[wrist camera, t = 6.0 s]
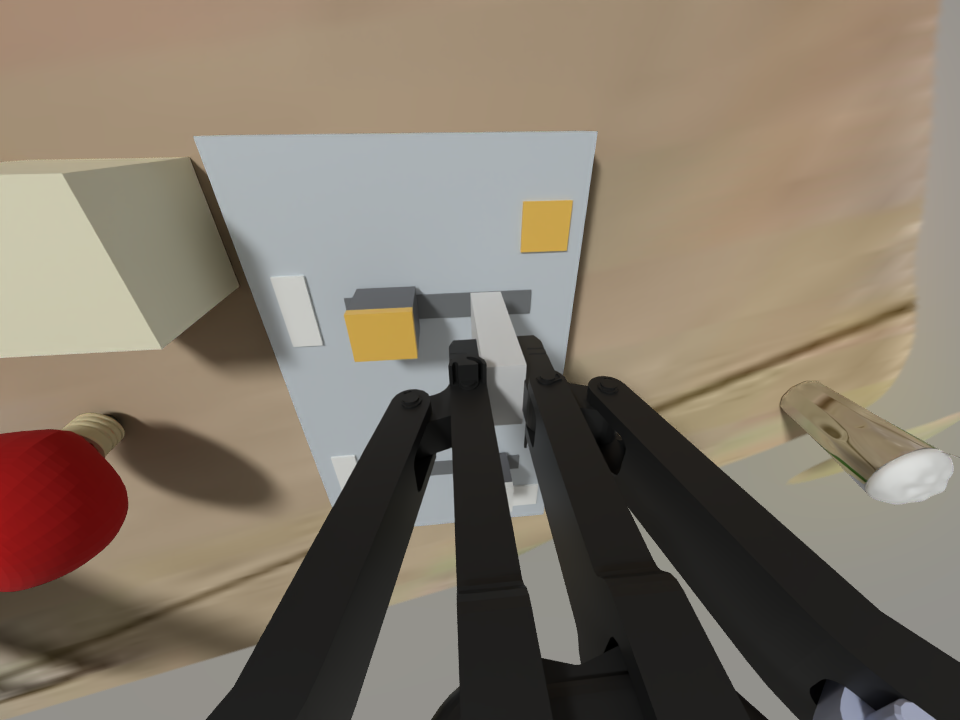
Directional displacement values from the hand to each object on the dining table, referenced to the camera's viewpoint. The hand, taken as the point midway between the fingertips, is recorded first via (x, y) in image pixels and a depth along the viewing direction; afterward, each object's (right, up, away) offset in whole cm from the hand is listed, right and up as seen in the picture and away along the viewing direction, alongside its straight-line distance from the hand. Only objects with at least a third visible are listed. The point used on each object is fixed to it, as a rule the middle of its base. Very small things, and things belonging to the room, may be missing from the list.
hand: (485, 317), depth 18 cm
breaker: (-5, +1, +1) cm, 5 cm away
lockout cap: (-17, +4, 0) cm, 18 cm away
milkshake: (+26, -5, +11) cm, 28 cm away
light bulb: (-25, -6, +6) cm, 26 cm away
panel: (-4, -3, +6) cm, 8 cm away
